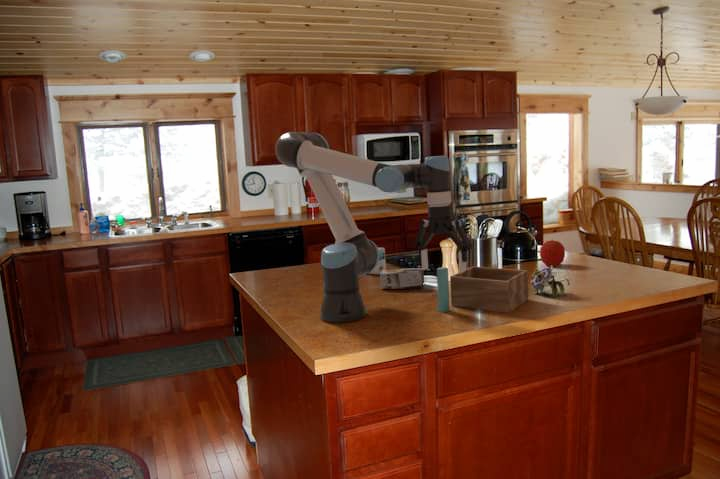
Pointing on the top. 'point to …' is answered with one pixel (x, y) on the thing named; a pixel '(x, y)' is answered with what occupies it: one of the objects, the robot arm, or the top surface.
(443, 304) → the peg
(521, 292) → the crate
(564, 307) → the top surface
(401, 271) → the coffee box
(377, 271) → the light bulb box
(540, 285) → the passion flower
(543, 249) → the red round piece
